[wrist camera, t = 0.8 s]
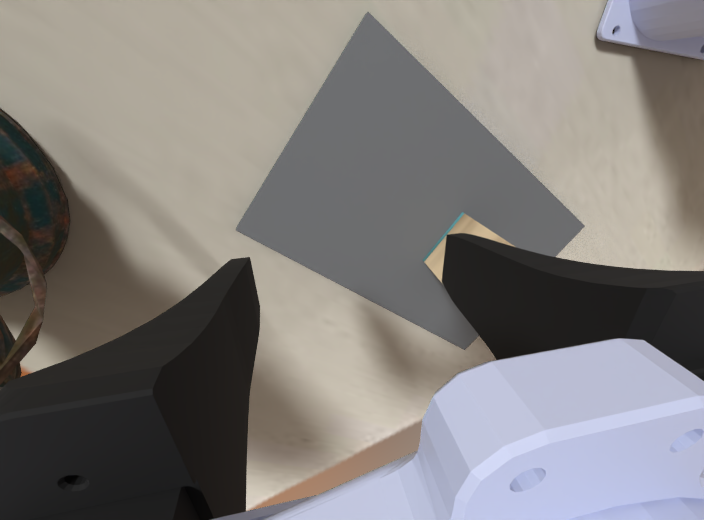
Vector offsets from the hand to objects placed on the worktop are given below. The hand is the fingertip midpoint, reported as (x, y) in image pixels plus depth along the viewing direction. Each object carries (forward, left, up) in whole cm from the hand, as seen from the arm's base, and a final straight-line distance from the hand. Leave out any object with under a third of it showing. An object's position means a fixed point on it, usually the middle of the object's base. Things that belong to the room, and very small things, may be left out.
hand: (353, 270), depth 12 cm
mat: (-8, +2, -10) cm, 13 cm away
